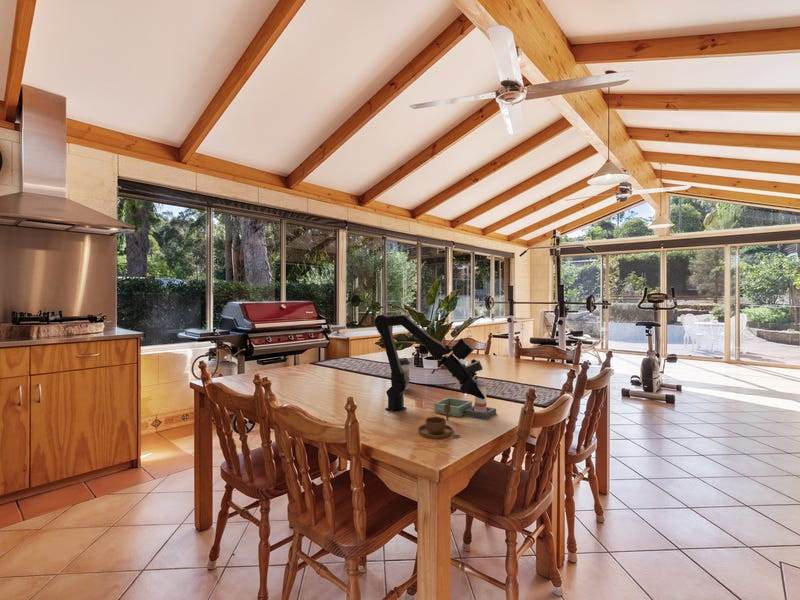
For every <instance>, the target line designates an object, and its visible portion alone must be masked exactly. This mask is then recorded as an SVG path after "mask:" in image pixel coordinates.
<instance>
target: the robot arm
mask: <svg viewBox="0 0 800 600" xmlns="http://www.w3.org/2000/svg"><path fill="white" fill-rule="evenodd" d="M374 326H375V328H376V330H377V333H378V334H379V335H380V337H381V338H382V341H383V342H382V343H383V345H384V348H385V349H384V350H385V353H386V356H387V360H388V361H387V362H388V364H389V368H390V373H391V374H390V384H391V386H390V387H389V388H388V389H387V390H386V395H387V407H385V408H384V409H385V410H386V411H390V412H395V413H399V412H401V411H405V410H407V407H406V406H405V403H404V401H405V400H404V399H405V398H404V391H406V390H405V389H406V388H407V387H408V388H409V385H410V381H411V379H410V376H409V377H408V372H407V371H403V369H402V368H401V364H400V361H399V358H400V357H399V354H398V351H397V347H396V343H395V339H394V336H393V329H394V328H393V327H394V326H402V327H403V328H404V329H405V330H407V332H409V333H410V334H411V335H412V336H414V338H416V339H417V340H418V341H419V342H420V343H421V344H422V345H423V346H424V347H425V348H426V351H427V352H428V353H429V355H431V356H432V357H433V358H435V359H437V361H436V362H437V368H440V367H441V366H443V367H444V368H445V369H446V370H447V371H448V372H449V374H451V376H452V378H453V379H454V378H455V379H456V380H457V381H458V382H459V383H458V384H459V385H460V387H459V391H460V392H461V393H462V394H468V395H471V396H474V397H475V396H476V397H478V398H481V399H484V398H485V397H484V395H483V394H482V392H481V391H480V390H479V388H478V387H477V380H476V379H478V375H477V372H481V371H482V370H483V365H482V364H481V362H480V360H477V359H475V358H474V359H471V360H470V363H468V365H466V364H465V363H462V362H461V361H459V360H463V361H464V360H465V359H466V358H467V357H469V356H470V355H471V354H472V353H473V352H474V351H475V349H474V348H473V346H472V345H471V344H470V343H469V342H468V341H466V340H464V339H463V338H462V337H461V338H459V340H457V342H456V343H455V344H454V345H453V346H451V345H446V344H445V343H444V342H442V341H440V340H438V339H437V338H434V337H432V336H431V335H429V334H428V332H426V331H425V330H424V329H422V328H421V327H420V326H419V325H418V324H417V323H415V322H414V321H413V320H412V319H411V318H410V317H409V316H408V315H407V314H400V315H391V316H390V315H389V314H387V313H386V314H385V313H384V314H378V315H377V316H376V317H375V319H374ZM439 358H441V359H439ZM475 380H476V381H475Z"/></svg>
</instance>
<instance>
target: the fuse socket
mask: <svg viewBox="0 0 800 600" xmlns="http://www.w3.org/2000/svg"><path fill="white" fill-rule="evenodd" d="M474 408H475V404H474V405H472V407H470V408H468V409H466V410H465V414H464V416H466V417H472V418H477V419H481V420H488V419H490V418H491V417H493V416H495V415H497V408H495V407H489V406H486V409H487V411H486V412H478V411H474Z"/></svg>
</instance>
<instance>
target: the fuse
mask: <svg viewBox="0 0 800 600" xmlns="http://www.w3.org/2000/svg"><path fill="white" fill-rule="evenodd" d="M476 380H477V387H478V388H479V390H480V391H481V392H482V394H483V395H484V397H485V398H484V399H481V398H478V397H476V396H474V405H475V408H474V411H478V412H486V411H487V409H486V407H488V406H487V383H488V380H487V379H482V378H477V379H476ZM476 380H475V381H476Z"/></svg>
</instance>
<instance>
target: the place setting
mask: <svg viewBox="0 0 800 600" xmlns="http://www.w3.org/2000/svg"><path fill="white" fill-rule="evenodd" d="M450 410H451V406H450V405H444V412H445V413H447V414H445V418H446V419H445V418H443V417H441V416H440V417H439V416H431V417H427V418H426V419H425V421H424V422H425V424H422V425H420V426H419V427H418V428H417V430H418V433H419V435H420V436H422V437H425V438H428V439H444V438H448V439H445V441H446V442H448V441H450V440H453V439H454V440H455V439H458V438H459V437H461V434H455V435H453V433H454V428H453V427H452V425H451V426H450V425H447V424H446V423H447V421H450V418H449V417H450V415H448V413H450ZM425 429H426V431H428V432H429V433H430V434H429V433H426V432H423V430H425ZM445 430H447V431H449V432H448V433H444V434H443V433H442V432H444V431H445ZM450 436H452V437H450Z"/></svg>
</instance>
